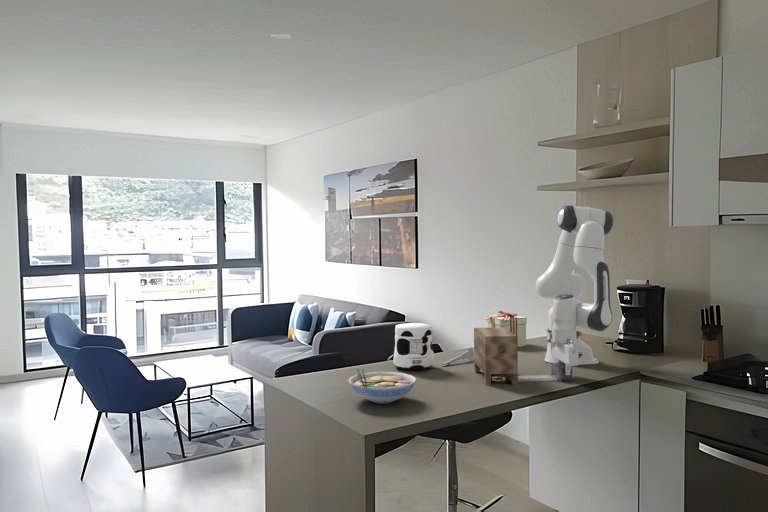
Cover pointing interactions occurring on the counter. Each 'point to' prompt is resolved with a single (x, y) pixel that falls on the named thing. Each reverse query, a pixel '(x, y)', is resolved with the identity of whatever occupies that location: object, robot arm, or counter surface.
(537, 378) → the scraper
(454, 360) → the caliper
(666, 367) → the counter surface
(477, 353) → the cabinet
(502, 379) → the token
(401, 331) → the milk container
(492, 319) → the gift box
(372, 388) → the ramen bowl
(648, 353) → the counter surface
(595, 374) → the counter surface
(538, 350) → the counter surface
